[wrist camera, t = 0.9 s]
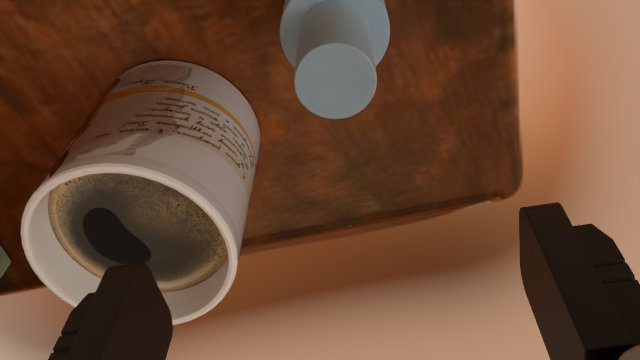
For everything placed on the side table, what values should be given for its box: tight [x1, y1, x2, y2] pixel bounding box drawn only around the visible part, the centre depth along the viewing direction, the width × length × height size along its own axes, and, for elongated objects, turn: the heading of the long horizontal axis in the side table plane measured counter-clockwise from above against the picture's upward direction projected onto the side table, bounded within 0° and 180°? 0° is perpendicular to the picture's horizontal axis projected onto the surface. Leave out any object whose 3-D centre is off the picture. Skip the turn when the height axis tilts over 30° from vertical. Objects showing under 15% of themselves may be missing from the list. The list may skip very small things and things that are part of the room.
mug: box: [21, 60, 260, 325], centre depth 32 cm, size 10×12×11 cm
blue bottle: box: [280, 0, 390, 119], centre depth 25 cm, size 4×4×13 cm
